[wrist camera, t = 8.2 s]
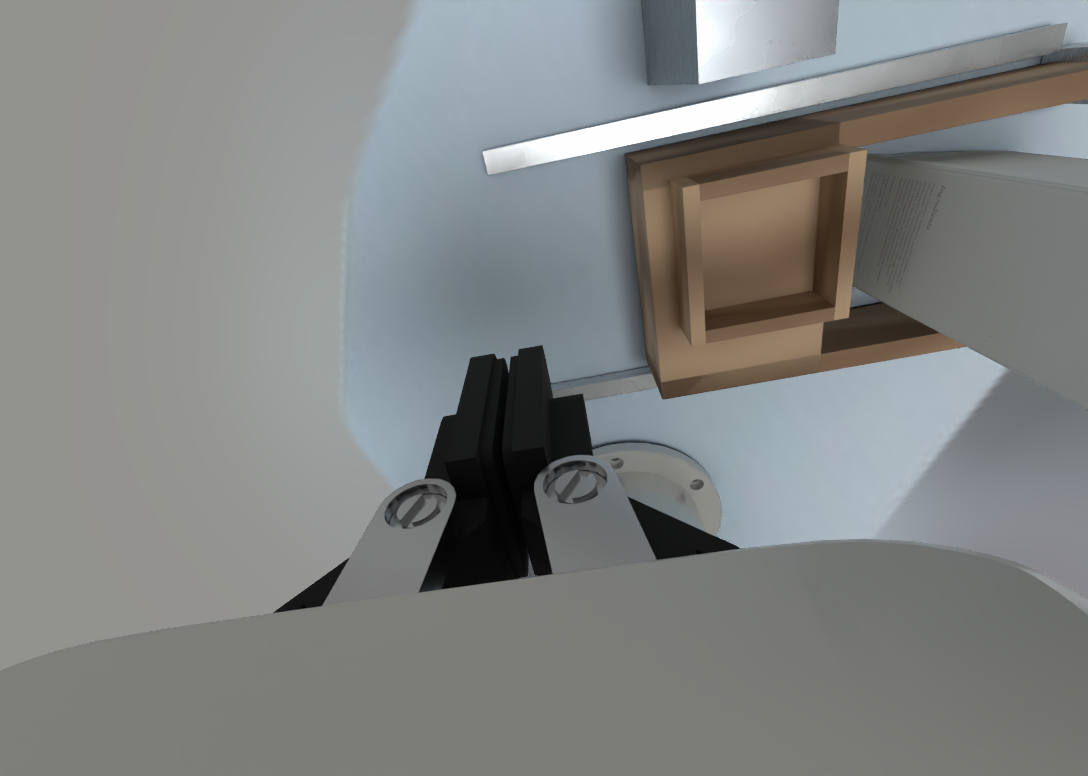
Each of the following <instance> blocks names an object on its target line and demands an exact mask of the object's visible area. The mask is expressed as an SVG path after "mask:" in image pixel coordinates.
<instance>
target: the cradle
mask: <svg viewBox="0 0 1088 776" xmlns="http://www.w3.org/2000/svg"><path fill="white" fill-rule="evenodd" d="M1085 99H1088V61H1086V62H1064V63H1044V64H1040V65H1035V66H1030V67H1026V68H1021V69H1016V70H1012V71H1007V72H1002V73H998V74H993V75H988V76H984V77H979V78H974V79H970V80H965V81H960V82H956V83H951V84H947V85H942V86H937V87H933V88H928V89H923V90H919V91H914V92H909V93H905V94H900V95H895V96H891V97H886V98H881V99H877V100H872V101H867V102H863V103H858V104H854V105H849V106H844V107H840V108H835V109H830V110H826V111H821V112H816V113H812V114H807V115H802V116H798V117H793V118H788V119H784V120H779V121H774V122H770V123H765V124H760V125H756V126H751V127H747V128H742V129H737V130H733V131H728V132H723V133H719V134H714V135H709V136H705V137H700V138H695V139H691V140H686V141H681V142H677V143H672V144H667V145H663V146H658V147H654V148H649V149H644V150H640V151H635V152H630V153H626V154H625V160H626V169H627V179H628V188H629V197H630V206H631V216H632V225H633V234H634V244H635V253H636V262H637V271H638V281H639V290H640V299H641V309H642V318H643V327H644V336H645V346H646V355H647V363H648V365H649V368H650V370H651V373H652V375H653V377H654V380H655V382H656V385H657V387H658V389H659V392H660V394H661V397H662V399H669V398H675V397H681V396H686V395H692V394H698V393H703V392H709V391H715V390H721V389H726V388H732V387H738V386H744V385H749V384H755V383H761V382H766V381H772V380H778V379H784V378H789V377H795V376H801V375H807V374H812V373H818V372H824V371H829V370H835V369H841V368H847V367H852V366H858V365H864V364H870V363H875V362H881V361H887V360H893V359H898V358H904V357H910V356H915V355H921V354H927V353H933V352H938V351H944V350H950V349H956V348H961V347H966V346H964V345H963V344H961V343H959V342H957V341H955V340H953V339H951V338H949V337H947V336H945V335H944V334H942V333H940V332H938V331H936V330H934V329H932V328H930V327H928V326H926V325H924V324H923V323H921V322H919V321H917V320H915V319H913V318H911V317H909V316H907V315H906V314H904V313H902V312H900V311H898V310H896V309H894V308H893V307H891V306H889V305H887V304H885V303H882V304H876V305H871V306H865V307H860V308H854V309H850V302H851V293H852V284H853V275H854V266H855V257H856V248H857V239H858V230H859V221H860V212H861V203H862V194H863V185H864V176H865V167H866V158H867V149H862V148H856V147H860V146H864V145H869V144H874V143H879V142H884V141H888V140H893V139H898V138H903V137H908V136H912V135H917V134H922V133H927V132H932V131H936V130H941V129H946V128H951V127H956V126H960V125H965V124H970V123H975V122H980V121H984V120H989V119H994V118H999V117H1004V116H1008V115H1013V114H1018V113H1023V112H1028V111H1032V110H1037V109H1042V108H1047V107H1052V106H1056V105H1061V104H1066V103H1071V102H1076V101H1080V100H1085Z"/></svg>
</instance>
